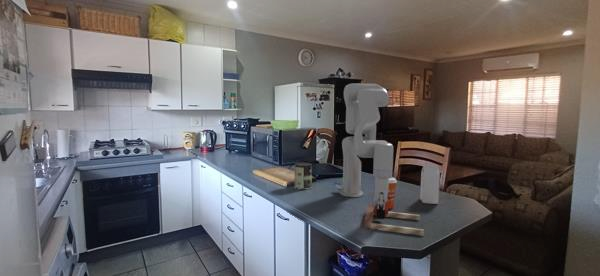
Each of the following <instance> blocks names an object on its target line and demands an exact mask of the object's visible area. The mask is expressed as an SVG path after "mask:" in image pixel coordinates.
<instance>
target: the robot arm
mask: <svg viewBox="0 0 600 276" xmlns="http://www.w3.org/2000/svg"><path fill="white" fill-rule="evenodd" d="M343 99H344V103H345V107H346V108H345V109H346V110H345V131H346V133H348V134H350V135H353V136H346V137H345V138H343V139H342V141H341V145H342V146H341V148H342V157H343V159H342V160H343V168H342V169H343V171H342V173H343V174H342V184H340V185H339V184H335V186H334V188H335V189H336V190H340V191H339V195H341V196H344V197H348V198H361V197H362V196H364V192H363V190H361V187H362V186H361V182H362V181H361V179H362V161H361V159H362V158H363V159H365V158H367V159H368V158H371V159H372V158H373V166H372V167H373V170H372V177H374V179H375V180H374V199H373V201H374V202H375V203H378V208H377V216H376V220H377V219H379V220H386V218H385V203H386V202H387V196H388V187H389V179H390V178H392V177H393V168H394V167H393V166H394V146H393V144H392V143H390V142H388V141H387V140H382V139H381V140H379V139H378V140H377V137H376V136H377V124H378V123H379V121H380V120H381V115H380V111H379V108H382V107H386V106H387V105H388V104H389V102H390V101H389V100H390V96H389V92H388V91H387V90H386V89H385V88H384V87H383V86H381V85H379V84H378V83H364V82H363V83H359V82H358V83H354V82H353V83H349V84H346V85H345V86H344V89H343ZM363 135H364V136H363ZM360 158H361V159H360ZM379 203H380V204H379Z"/></svg>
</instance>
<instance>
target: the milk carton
mask: <svg viewBox="0 0 600 276" xmlns="http://www.w3.org/2000/svg"><path fill="white" fill-rule="evenodd" d="M440 178H441V174H440V169H439V164H425V163H424V164H423V165H422V168H421V174H420V192H419V199H420V201H421V203H422V204H433V205H436V204H437V205H438V204H439V197H440V196H439V195H440V180H441V179H440Z"/></svg>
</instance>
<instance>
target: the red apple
mask: <svg viewBox="0 0 600 276" xmlns="http://www.w3.org/2000/svg"><path fill="white" fill-rule="evenodd" d="M379 204H380V203H379ZM377 208H378V202H376V204H375V205H374V207H373V210H374V213H375V215H374V216H376V217H377ZM388 211H389V209H388V207H387V205H386V204H385V217H386V216H387V215H388Z"/></svg>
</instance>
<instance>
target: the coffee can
mask: <svg viewBox="0 0 600 276" xmlns="http://www.w3.org/2000/svg"><path fill="white" fill-rule="evenodd" d="M293 165H294V189H296V188H298V189H297V190H300V189H307V190H310V189H309V188H311V187H313V186H312V184H313V183H312V181H313V180H312V178H313V177H312V173H313V172H312V171H313V169H312V166H313V163H311V162H296V163H294V164H293ZM311 189H312V188H311Z"/></svg>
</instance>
